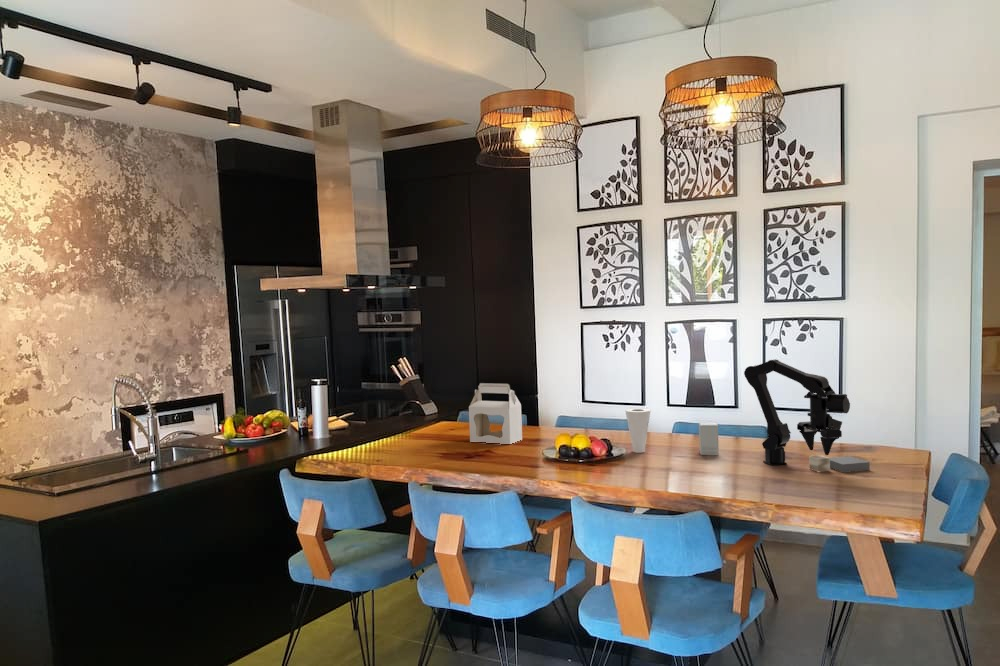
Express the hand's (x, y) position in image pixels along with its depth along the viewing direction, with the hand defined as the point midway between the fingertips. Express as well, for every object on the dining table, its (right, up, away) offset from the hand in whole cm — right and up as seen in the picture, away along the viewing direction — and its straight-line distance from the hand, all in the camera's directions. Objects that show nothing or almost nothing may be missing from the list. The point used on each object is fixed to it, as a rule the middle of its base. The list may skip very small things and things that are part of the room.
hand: (819, 452), depth 261 cm
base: (+11, -6, +2) cm, 13 cm away
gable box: (-120, -8, +78) cm, 144 cm away
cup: (-58, -7, +44) cm, 73 cm away
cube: (0, -7, 0) cm, 7 cm away
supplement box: (-30, -7, +35) cm, 47 cm away
